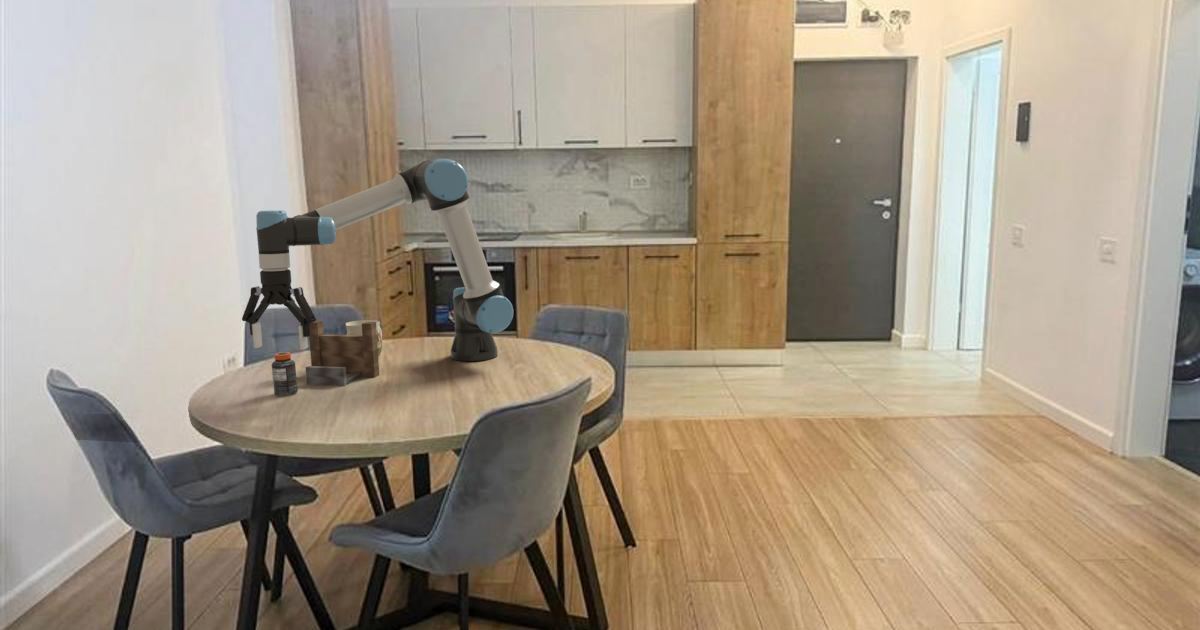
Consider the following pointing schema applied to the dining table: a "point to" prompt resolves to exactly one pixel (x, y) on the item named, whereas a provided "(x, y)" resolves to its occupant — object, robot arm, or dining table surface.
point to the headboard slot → (342, 356)
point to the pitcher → (356, 329)
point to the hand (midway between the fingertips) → (281, 348)
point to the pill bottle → (284, 375)
